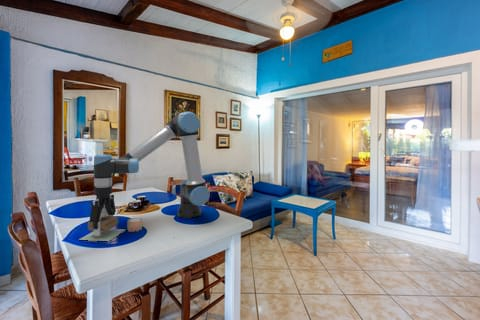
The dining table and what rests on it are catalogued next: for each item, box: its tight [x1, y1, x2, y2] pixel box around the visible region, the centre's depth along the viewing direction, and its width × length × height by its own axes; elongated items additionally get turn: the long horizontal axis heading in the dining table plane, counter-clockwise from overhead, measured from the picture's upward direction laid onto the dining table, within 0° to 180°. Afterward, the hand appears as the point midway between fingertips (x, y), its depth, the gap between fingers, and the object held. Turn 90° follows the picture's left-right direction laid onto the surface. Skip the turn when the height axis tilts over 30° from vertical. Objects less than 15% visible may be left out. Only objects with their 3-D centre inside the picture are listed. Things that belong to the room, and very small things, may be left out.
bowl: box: [126, 217, 143, 233], centre depth 117 cm, size 7×7×5 cm
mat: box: [78, 228, 126, 243], centre depth 109 cm, size 14×14×1 cm
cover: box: [87, 215, 119, 231], centre depth 109 cm, size 9×9×5 cm
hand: (103, 231), depth 109 cm, fingers closed on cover, 9 cm apart
